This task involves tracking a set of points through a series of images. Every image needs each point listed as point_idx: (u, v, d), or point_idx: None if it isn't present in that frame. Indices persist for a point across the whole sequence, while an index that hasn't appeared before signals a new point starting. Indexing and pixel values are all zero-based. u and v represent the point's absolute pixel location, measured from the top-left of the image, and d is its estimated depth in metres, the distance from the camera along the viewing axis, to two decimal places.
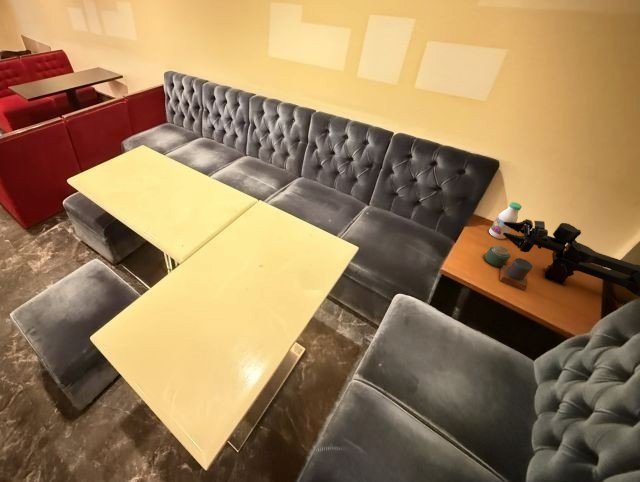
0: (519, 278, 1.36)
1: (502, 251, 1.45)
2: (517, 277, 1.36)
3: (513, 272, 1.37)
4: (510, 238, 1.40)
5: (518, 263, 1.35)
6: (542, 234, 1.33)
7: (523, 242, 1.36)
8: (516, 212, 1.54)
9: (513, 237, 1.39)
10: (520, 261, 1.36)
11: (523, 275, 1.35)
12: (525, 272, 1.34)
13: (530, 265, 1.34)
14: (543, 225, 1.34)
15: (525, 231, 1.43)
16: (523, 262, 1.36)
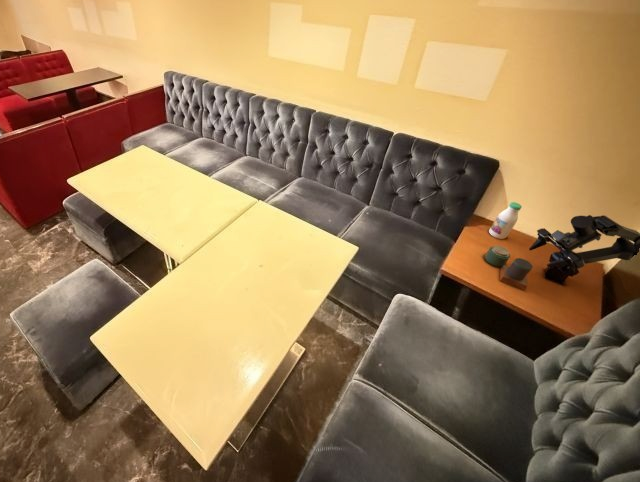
0: (519, 278, 1.36)
1: (502, 251, 1.45)
2: (517, 277, 1.36)
3: (513, 272, 1.37)
4: (557, 264, 1.28)
5: (518, 263, 1.35)
6: (574, 244, 1.24)
7: (572, 262, 1.24)
8: (516, 212, 1.54)
9: (558, 263, 1.28)
10: (520, 261, 1.36)
11: (523, 275, 1.35)
12: (525, 272, 1.34)
13: (530, 265, 1.34)
14: (564, 236, 1.25)
15: (553, 243, 1.33)
16: (523, 262, 1.36)
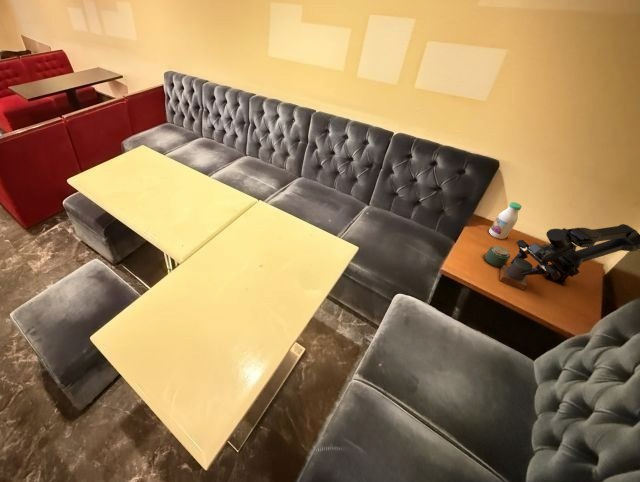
0: (519, 278, 1.36)
1: (502, 251, 1.45)
2: (517, 277, 1.36)
3: (513, 272, 1.37)
4: (532, 273, 1.33)
5: (518, 263, 1.35)
6: (549, 256, 1.27)
7: (545, 271, 1.29)
8: (516, 212, 1.54)
9: (533, 272, 1.32)
10: (520, 261, 1.36)
11: (523, 275, 1.35)
12: None
13: (530, 265, 1.34)
14: (540, 249, 1.28)
15: (533, 256, 1.35)
16: (523, 262, 1.36)
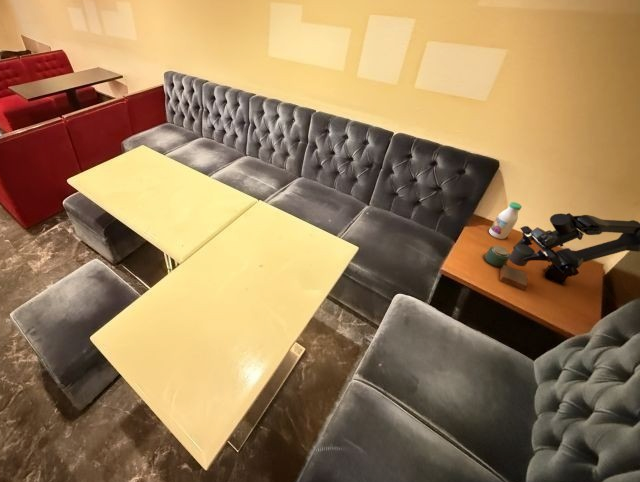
0: (520, 264, 1.35)
1: (502, 251, 1.45)
2: (518, 263, 1.35)
3: (514, 258, 1.36)
4: (533, 259, 1.31)
5: (519, 248, 1.34)
6: (551, 241, 1.25)
7: (546, 257, 1.27)
8: (516, 212, 1.54)
9: (534, 257, 1.30)
10: (522, 246, 1.34)
11: (524, 261, 1.33)
12: None
13: (532, 251, 1.32)
14: (542, 233, 1.26)
15: (536, 243, 1.33)
16: (526, 247, 1.34)
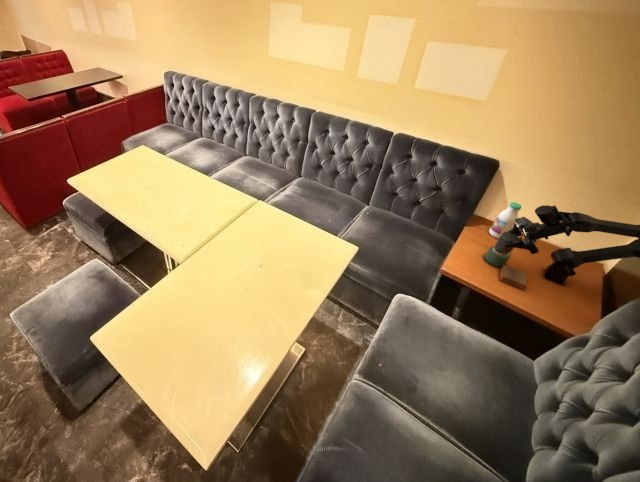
0: (503, 250, 1.42)
1: None
2: (501, 248, 1.43)
3: (498, 243, 1.44)
4: (514, 246, 1.38)
5: (504, 234, 1.42)
6: (531, 229, 1.32)
7: (524, 244, 1.34)
8: (516, 212, 1.54)
9: (514, 244, 1.37)
10: (508, 234, 1.42)
11: (506, 247, 1.41)
12: None
13: (516, 239, 1.39)
14: (524, 221, 1.34)
15: (523, 233, 1.39)
16: (511, 236, 1.41)
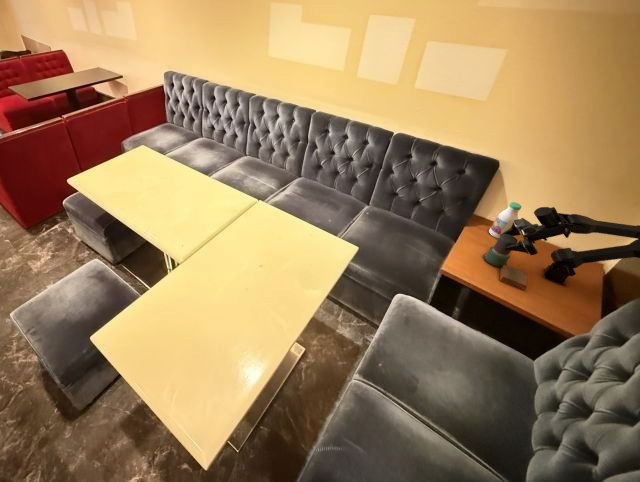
0: (501, 251, 1.43)
1: None
2: (499, 250, 1.44)
3: (496, 245, 1.45)
4: (513, 249, 1.38)
5: (503, 236, 1.42)
6: (530, 231, 1.32)
7: (524, 247, 1.33)
8: (516, 212, 1.54)
9: (514, 247, 1.37)
10: (507, 236, 1.42)
11: None
12: None
13: (515, 241, 1.40)
14: (523, 223, 1.34)
15: (522, 232, 1.40)
16: (510, 237, 1.42)
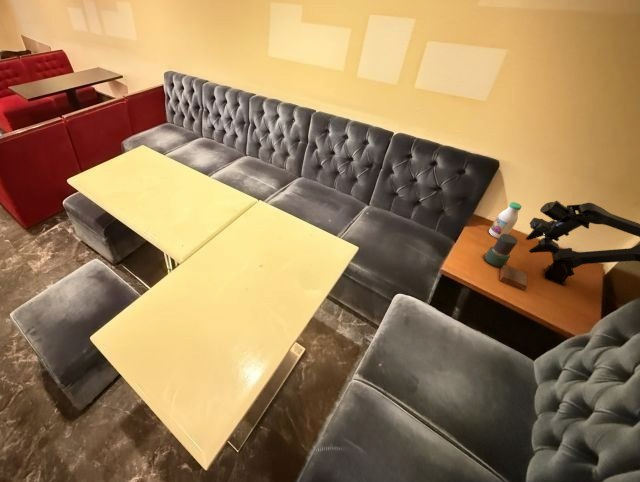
0: (501, 251, 1.43)
1: None
2: (499, 250, 1.44)
3: (496, 245, 1.45)
4: (538, 250, 1.36)
5: (503, 236, 1.42)
6: (543, 229, 1.32)
7: None
8: (516, 212, 1.54)
9: (537, 248, 1.35)
10: (507, 236, 1.42)
11: (505, 249, 1.42)
12: (507, 246, 1.41)
13: (515, 241, 1.40)
14: (534, 222, 1.35)
15: None
16: (510, 237, 1.42)
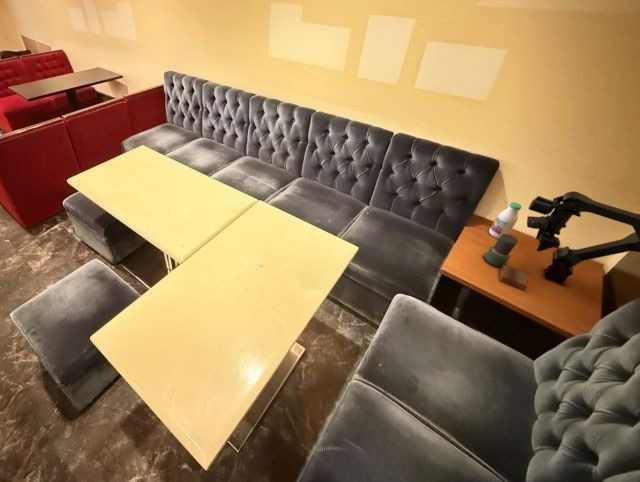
0: (501, 251, 1.43)
1: None
2: (499, 250, 1.44)
3: (496, 245, 1.45)
4: (543, 248, 1.35)
5: (503, 236, 1.42)
6: (536, 226, 1.34)
7: None
8: (516, 212, 1.54)
9: (541, 246, 1.35)
10: (507, 236, 1.42)
11: (505, 249, 1.42)
12: (507, 246, 1.41)
13: (515, 241, 1.40)
14: (527, 221, 1.38)
15: None
16: (510, 237, 1.42)
